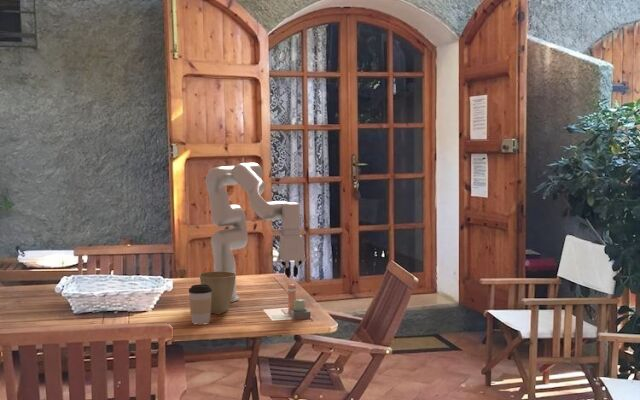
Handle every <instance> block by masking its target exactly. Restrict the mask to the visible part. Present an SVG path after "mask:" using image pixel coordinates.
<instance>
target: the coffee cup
mask: <svg viewBox="0 0 640 400" xmlns="http://www.w3.org/2000/svg"><path fill="white" fill-rule="evenodd" d="M211 289H212V288H210V287H209V285H204V284H201V283H199V284H194V285H191V286H190V287H189V289H188V294H189V297H188V299H189V307H190V310H189V311H190V313H191V323H197V324H203V325H205V324H204V323H208V324H210V323H211V313H210V312H211V291H212V290H211ZM209 322H210V323H209Z"/></svg>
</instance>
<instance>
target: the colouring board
mask: <svg viewBox="0 0 640 400" xmlns="http://www.w3.org/2000/svg"><path fill="white" fill-rule="evenodd" d="M263 312H264V313H265V314H266V315H267V316H268V317H269V318H270V320H271V321H272V322H273V321H284V320H285V321H287V320H294V319H293V318H292V317H291V316H290V312H289V311H288V307H281V308H280V307H278V308H267V309H266V308H265V309H263ZM312 318H313V317H312V316H311V318H310V319H312ZM299 319H301V320H302V318H299ZM299 319H298V320H299Z"/></svg>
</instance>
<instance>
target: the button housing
mask: <svg viewBox="0 0 640 400" xmlns="http://www.w3.org/2000/svg"><path fill="white" fill-rule="evenodd" d="M289 310H290V316H291V317H292V318H293V319H292V320H297V319H298V320H299V318H301V319H312V318H311V317H312V315H311V311H310V310H309V309H308V308H307V307H305V312H294V309H289Z"/></svg>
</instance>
